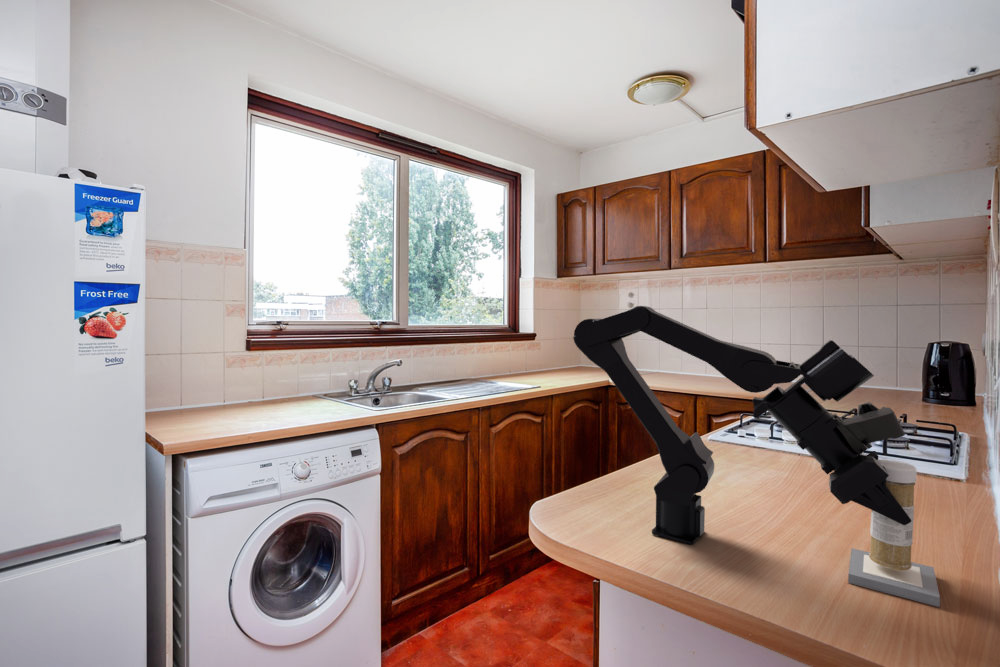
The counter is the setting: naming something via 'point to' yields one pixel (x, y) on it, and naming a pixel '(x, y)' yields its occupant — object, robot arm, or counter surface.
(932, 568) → the tile
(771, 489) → the counter surface
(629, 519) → the counter surface
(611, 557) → the counter surface
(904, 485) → the sprinkles bottle
